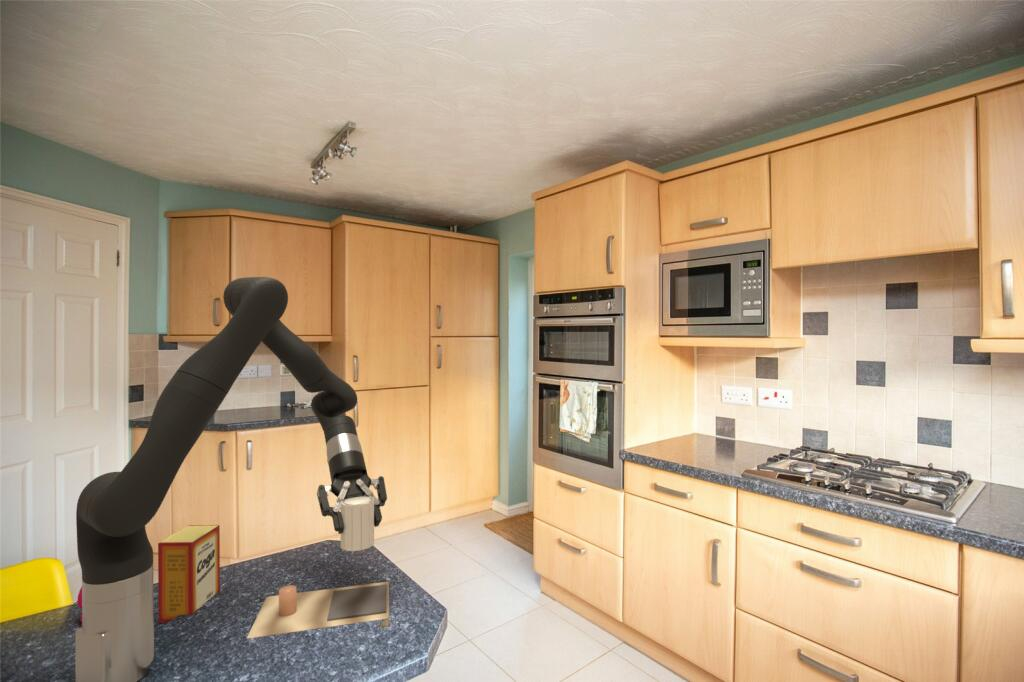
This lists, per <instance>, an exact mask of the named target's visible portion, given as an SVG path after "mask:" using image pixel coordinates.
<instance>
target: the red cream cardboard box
mask: <svg viewBox="0 0 1024 682" xmlns="http://www.w3.org/2000/svg"><path fill="white" fill-rule="evenodd" d="M220 529H221V528H220V524H206V525H204V524H199V525H197V524H196V525H192V524H191V525H190V524H189V525H187V526H186V527H183V529H180V530H179V531H176V532H174V533H173V534H171V535H169V536H168V537H166V538H165V539H162V540H161V541H160V542H158V543H157V559H158V560H157V561H158V562H157V564H158V565H157V566H158V567H157V569H158V570H157V571H158V572H157V575H158V576H157V578H158V580H157V581H158V585H157V586H158V590H157V591H158V601H157V602H158V623H169V622H171V621H172V620H174V619H176V618H177V617H179V616H181V615H182V616H183V615H184V616H185V615H193V614H194V613H195V612H196V611H197V610H199V609H200V608H201V607H202V606H203V605H205V604H206V603H207V602H208V601H210V599H211V598H213V597H214V596H216V595H218V594H220V591H221V586H220V585H221V583H220V582H221V577H220V576H221V572H220V571H221V570H220V568H221V564H220V563H221V562H220V561H221V560H220V559H221V558H220V557H221V555H220V547H221V545H220V542H221V541H220V537H221V536H220V535H221V533H220Z"/></svg>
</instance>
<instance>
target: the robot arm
mask: <svg viewBox="0 0 1024 682" xmlns="http://www.w3.org/2000/svg"><path fill="white" fill-rule="evenodd" d="M288 302H289V294H288V290H287V288H286V286H285V285H284V284H283V283H282V282H281V281H280V280H279V279H276V278H274V277H273V278H272V277H268V276H251V277H249V276H247V277H239V278H236V279H233V280H232V281H230V282H229V283H228V284H227V286H226V287H225V288H224V290H223V303H224V306H225V308H226V310H227V312H228V313H229V314H230V315H231V316H232V317H231V318H230V319H229V321H228V323H227V324H226V325H225V326H224V327H223V329H222V330H221V331H220V332H219V333H218V334H216V335H215V336H214V337H213V338H212V339H210V340H209V341H208V342H207V343H204V345H203V346H201V347H200V348H199V349H198V350H196V351H195V352H193V354H190V356H189V357H188V358H187V359H186V360H185V361H183V363H182V364H181V365H180V366H179V367H178V368H177V370H176V371H175V373H174V374H173V375H172V377H171V378H170V380H169V381H168V383H167V384H166V385H165V387H164V388H163V390H162V391H161V393H160V396H159V397H158V400H157V401H156V404H155V407H154V409H153V412H152V415H151V416H150V421H149V423H148V427H147V430H146V433H145V435H144V438H143V439H142V442H141V443H140V445H139V447H138V448H137V450H136V451H135V453H134V454H133V455H132V457H130V460H128V462H127V463H126V465H125V466H124V467H123V469H122V470H121V471H111V472H106V473H103V474H101V475H99V476H97V477H95V478H94V479H92V480H91V481H90V482H88V483H87V484H86V485H85V487H84V488H83V489H82V491H81V492H80V494H79V497H78V498H77V499H78V500H77V501H76V502H77V503H76V512H75V518H76V519H75V520H76V521H75V525H76V543H77V544H76V547H77V548H76V550H77V557H78V561H79V566H80V569H81V587H82V609H81V612H82V623H81V627H80V628H77V629H76V630H75V635H74V636H75V640H74V641H75V644H74V645H75V647H74V648H75V660H74V661H75V682H138V681H140V680H141V679H143V678H144V677H146V676H147V675H148V674H149V673H150V671H152V668H150V667H149V665H150V664H151V663H152V662H153V660H154V656H155V631H154V630H155V627H154V621H155V620H154V618H155V617H154V548H153V546H152V544H151V542H150V540H149V538H148V535H147V531H146V529H147V528H146V525H147V524H149V523H150V522H151V520H153V518H154V517H155V515H156V514H157V512H158V511H159V509H160V508H161V506H162V503H163V502H164V499H165V497H167V494H168V491H169V490H170V487H171V485H172V484H173V483H174V480H175V478H176V476H177V474H178V472H179V471H180V468H181V467H182V464H183V463H184V461H185V459H186V457H188V454H189V453H190V452H191V450H192V448H193V447H194V445H196V443H197V441H198V440H199V438H200V437H201V435H202V433H203V432H204V430H205V429H206V427H207V425H209V422H210V421H211V420H212V418H213V417H214V415H215V414H216V413H217V411H218V409H219V408H220V406H221V405H222V403H223V401H224V400H225V398H226V397H227V395H229V392H230V390H231V388H232V387H233V385H234V383H235V382H236V380H237V378H238V377H239V376H240V374H241V373H242V371H243V369H244V368H245V367H246V365H247V363H248V362H249V360H250V359H251V357H252V356H253V354H254V352H255V351H256V350H257V348H258V347H259V345H260V344H261V343H263V344H264V346H266V347H267V349H269V350H270V351H271V353H273V355H275V357H276V358H278V360H279V361H280V362H281V363H282V364H283V366H285V368H286V369H287V370H288V372H290V374H291V375H292V376H293V378H294V379H295V380H296V382H298V384H299V385H300V386H301V387H302V388H303V390H305V392H307V393H312V394H313V393H317V394H315V395H314V396H313V398H312V400H311V402H310V408H311V410H312V412H313V414H314V415H315V417H316V418H317V421H318V422H319V424H320V426H321V428H322V431H323V434H324V441H325V445H326V458H327V459H326V461H327V462H326V463H327V464H328V470H329V471H328V472H329V474H330V475H329V476H330V481H331V484H330V485H323V484H319V485H318V488H317V491H316V496H317V500H318V504H319V508H320V513H321V516H322V517H327V516H328V517H331V518H332V523H333V528H334V531H335V532H337V533H338V534H339V535H341V533H343V530H344V526H343V521H342V515H341V501H343V500H344V499H346V498H347V499H348V498H353V497H360V496H368V497H369V496H371V497H373V498H374V528H376V527H379V526H380V524H381V522H382V520H383V515H382V512H381V507H384V506H385V505H386V502H387V501H388V496H387V489H386V484H385V477H384V476H382V475H381V476H378V478H371V477H370V476H369V474H368V470H367V465H366V462H365V457H364V453H363V449H362V445H361V443H360V440H359V436H358V431H357V427H356V423H355V420H354V419H353V418H352V417H351V416H349V415H343V414H346V413H347V412H349V411H351V410H353V409H354V408H356V406H357V404H358V394H357V392H356V390H355V389H354V388H353V387H352V386H351V385H350V384H349V383H348V382H347V381H345V380H343V379H342V378H340V377H339V376H338V375H336V374H335V373H334V372H333V371H331V370H330V368H329V367H328V366H327V365H326V363H325V362H324V360H323V359H322V358H321V357H320V355H319V353H317V352H316V351H315V350H314V349H313V347H312V346H311V345H309V344H308V343H307V342H306V341H304V340H303V339H302V338H300V336H298V335H296V334H295V333H294V332H293V331H292V330H290V329H289V328H288V327H287V326H286V324H285V323H283V322H282V321H281V320H280V319H281V318H282V317H283V315H284V313H285V311H286V309H287V308H288ZM371 486H372V487H373V488H374V489H375V490H376V493H377V497H376V495H374V493H373V490H371V489H370V487H371ZM330 492H331V493H332V494H333V496H336V497H337V499H336V502H335V504H334V506H330V503H329V497H328V496H329V495H330Z"/></svg>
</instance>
